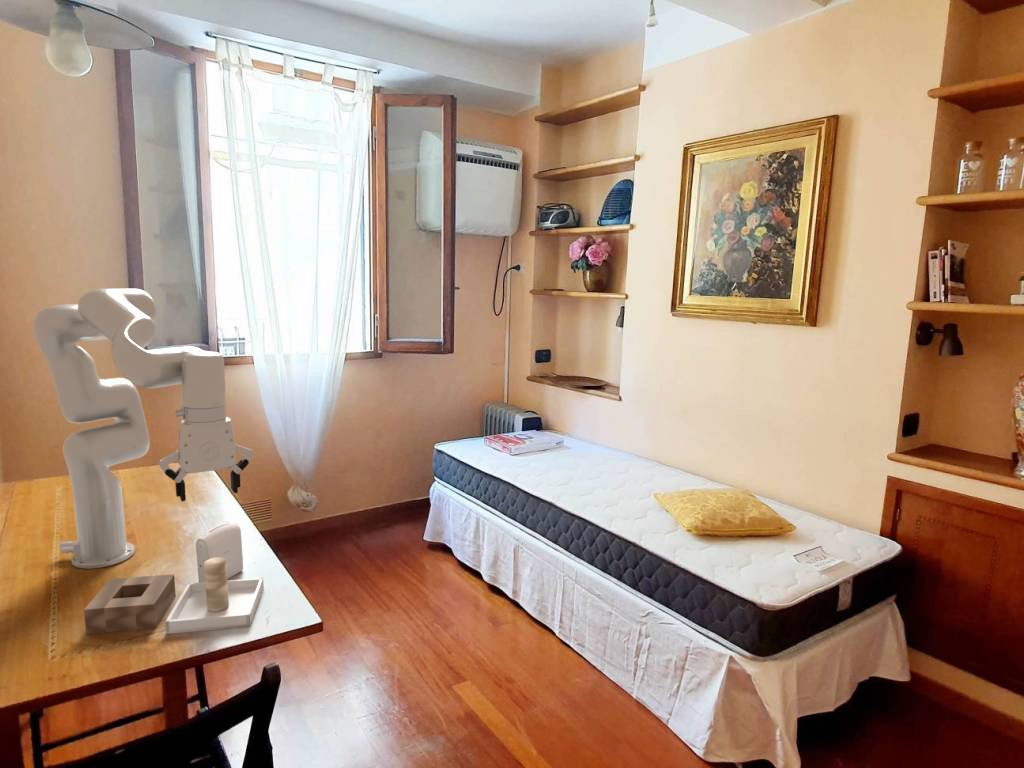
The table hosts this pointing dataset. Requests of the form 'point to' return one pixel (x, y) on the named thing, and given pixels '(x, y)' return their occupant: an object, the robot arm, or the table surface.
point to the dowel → (216, 584)
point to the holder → (130, 604)
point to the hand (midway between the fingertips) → (209, 495)
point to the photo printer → (220, 548)
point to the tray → (196, 617)
